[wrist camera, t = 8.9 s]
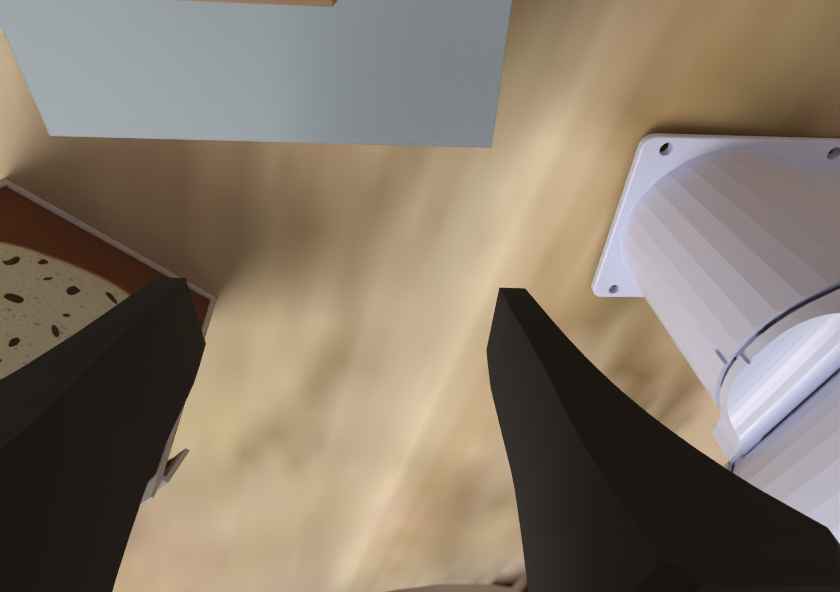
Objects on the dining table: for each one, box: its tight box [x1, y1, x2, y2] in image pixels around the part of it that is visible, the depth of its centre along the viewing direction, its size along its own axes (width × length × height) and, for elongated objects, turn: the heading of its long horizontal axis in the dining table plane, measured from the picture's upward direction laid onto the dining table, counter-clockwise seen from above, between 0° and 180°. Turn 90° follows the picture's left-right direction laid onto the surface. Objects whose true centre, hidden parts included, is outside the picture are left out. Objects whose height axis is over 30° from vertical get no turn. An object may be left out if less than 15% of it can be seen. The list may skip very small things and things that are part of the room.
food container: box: [0, 178, 217, 507], centre depth 18 cm, size 12×6×10 cm, turn 47°
